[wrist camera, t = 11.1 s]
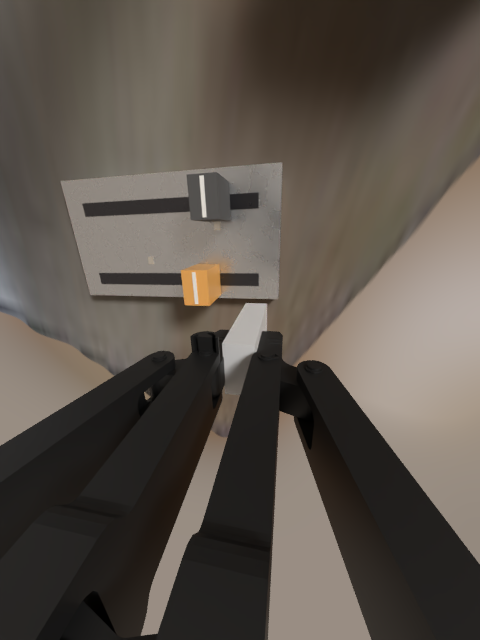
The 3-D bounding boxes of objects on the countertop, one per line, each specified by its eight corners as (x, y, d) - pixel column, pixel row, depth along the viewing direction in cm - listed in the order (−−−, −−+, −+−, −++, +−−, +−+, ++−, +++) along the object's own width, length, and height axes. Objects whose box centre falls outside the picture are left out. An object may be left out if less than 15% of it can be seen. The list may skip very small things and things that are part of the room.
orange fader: (196, 264, 30) (180, 270, 26) (219, 264, 30) (206, 270, 25) (199, 294, 32) (184, 305, 27) (221, 294, 31) (209, 306, 26)
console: (73, 183, 32) (59, 180, 30) (282, 167, 27) (282, 162, 25) (100, 291, 37) (89, 295, 35) (278, 295, 32) (278, 299, 30)
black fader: (203, 183, 27) (185, 174, 22) (229, 182, 26) (216, 171, 22) (206, 221, 28) (190, 220, 24) (230, 220, 28) (219, 219, 23)
